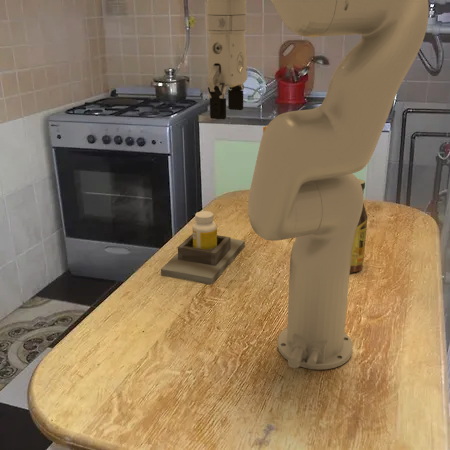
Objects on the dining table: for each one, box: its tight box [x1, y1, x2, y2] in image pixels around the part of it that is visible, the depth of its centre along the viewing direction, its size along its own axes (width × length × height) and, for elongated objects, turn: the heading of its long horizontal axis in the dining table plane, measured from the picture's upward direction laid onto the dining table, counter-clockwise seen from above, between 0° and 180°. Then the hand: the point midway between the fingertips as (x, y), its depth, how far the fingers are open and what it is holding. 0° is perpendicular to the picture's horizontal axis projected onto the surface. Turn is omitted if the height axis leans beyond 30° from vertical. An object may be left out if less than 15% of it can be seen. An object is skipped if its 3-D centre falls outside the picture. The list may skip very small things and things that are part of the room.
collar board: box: [160, 233, 246, 285], centre depth 124 cm, size 20×12×4 cm, turn 158°
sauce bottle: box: [350, 178, 369, 274], centre depth 118 cm, size 7×6×20 cm
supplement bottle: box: [192, 210, 218, 251], centre depth 123 cm, size 5×5×10 cm
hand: (227, 113), depth 112 cm, fingers open, 9 cm apart
